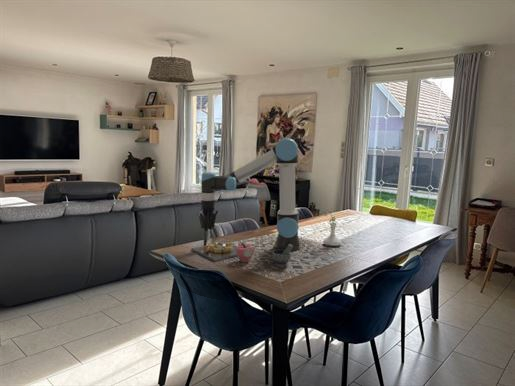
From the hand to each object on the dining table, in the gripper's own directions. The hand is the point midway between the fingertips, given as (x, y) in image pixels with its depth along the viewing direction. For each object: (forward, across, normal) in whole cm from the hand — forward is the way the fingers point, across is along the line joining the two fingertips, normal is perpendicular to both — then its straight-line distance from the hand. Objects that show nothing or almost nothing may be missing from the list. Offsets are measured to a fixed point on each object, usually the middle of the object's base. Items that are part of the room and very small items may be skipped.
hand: (207, 239), depth 222 cm
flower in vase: (+6, -64, +42) cm, 76 cm away
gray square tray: (+5, -2, +9) cm, 11 cm away
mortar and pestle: (+5, -12, +47) cm, 49 cm away
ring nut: (+4, -1, +8) cm, 9 cm away
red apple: (+5, -1, +30) cm, 31 cm away
